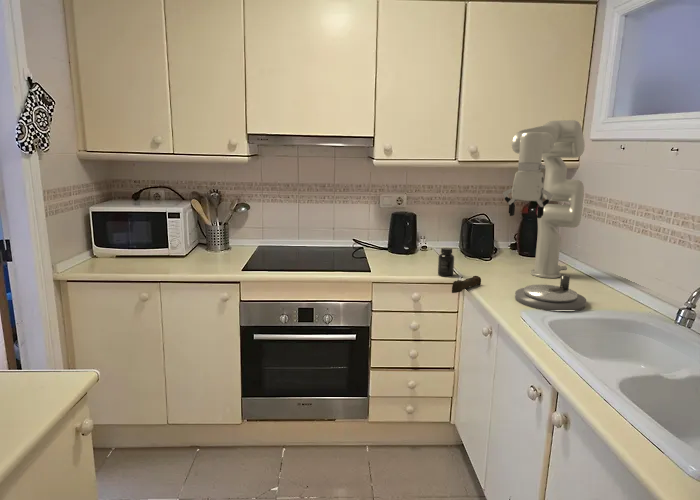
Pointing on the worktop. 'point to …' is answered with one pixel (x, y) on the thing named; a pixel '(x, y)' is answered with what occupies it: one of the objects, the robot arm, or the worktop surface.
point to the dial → (552, 292)
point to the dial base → (539, 304)
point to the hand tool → (465, 284)
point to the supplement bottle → (446, 263)
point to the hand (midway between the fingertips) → (525, 216)
